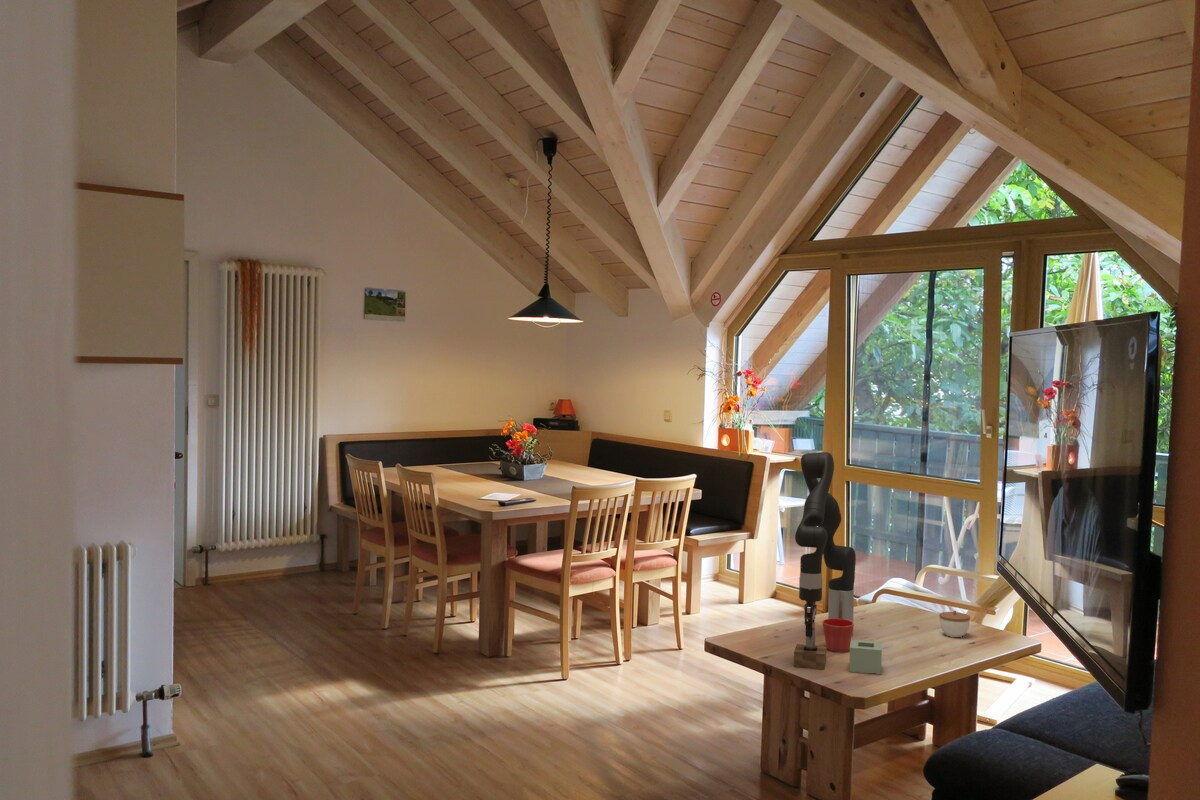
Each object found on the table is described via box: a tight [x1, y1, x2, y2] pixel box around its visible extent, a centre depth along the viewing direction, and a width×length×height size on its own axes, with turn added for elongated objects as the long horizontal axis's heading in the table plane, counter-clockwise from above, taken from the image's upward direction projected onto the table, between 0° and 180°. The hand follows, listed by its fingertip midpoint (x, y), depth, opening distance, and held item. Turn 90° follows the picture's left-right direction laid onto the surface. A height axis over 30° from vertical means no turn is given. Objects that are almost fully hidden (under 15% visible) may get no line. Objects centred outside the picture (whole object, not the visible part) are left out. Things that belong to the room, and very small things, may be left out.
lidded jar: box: [939, 610, 971, 638], centre depth 356 cm, size 11×11×9 cm
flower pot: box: [822, 618, 854, 653], centre depth 337 cm, size 11×11×10 cm
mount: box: [793, 643, 828, 670], centre depth 319 cm, size 10×10×5 cm
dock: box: [849, 639, 883, 675], centre depth 314 cm, size 10×10×8 cm
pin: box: [805, 622, 816, 651], centre depth 319 cm, size 3×3×14 cm
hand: (809, 633), depth 319 cm, fingers open, 8 cm apart
